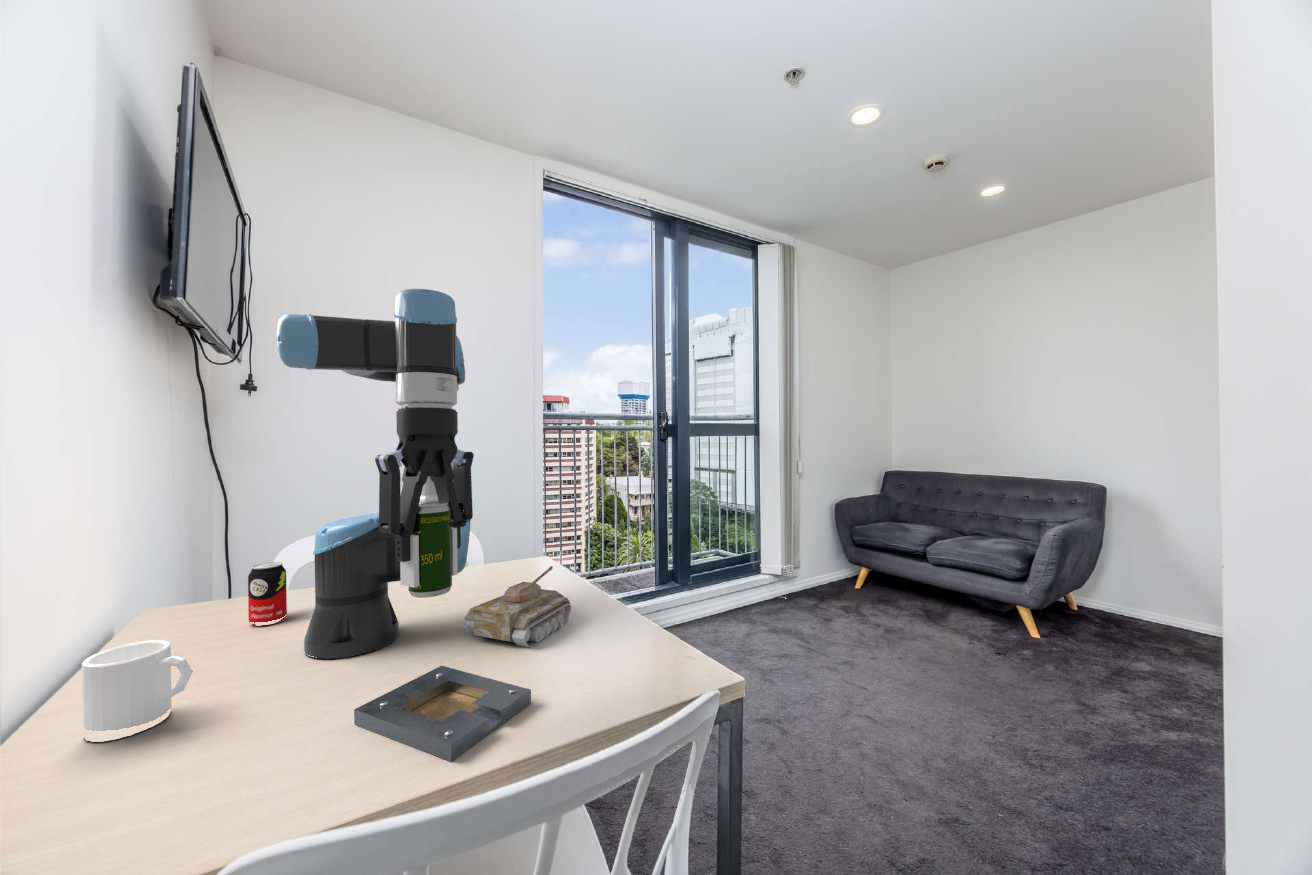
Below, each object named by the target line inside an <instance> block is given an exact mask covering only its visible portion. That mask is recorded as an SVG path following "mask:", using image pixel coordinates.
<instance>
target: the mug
mask: <svg viewBox="0 0 1312 875" xmlns="http://www.w3.org/2000/svg"><path fill="white" fill-rule="evenodd" d="M171 646H172V644H171V643H170V642H169V641H167V640H162V639H158V640H157V639H155V640H154V639H153V640H151V639H150V640H145V641H136V642H132V643H125V644H123V645H119V646H118V645H117V646H115V647H111V648H108V649H105V650H102V651H100V652H97V653H94V654H92V655H90V656H88V657H87V658H86V659H84V660H83V662H82V663H81V689H82V690H81V692H82V694H81V697H82V698H81V699H82V706H81V708H82V729H83V728H85V730H92V731H95V730H96V731H106V730H119V729H123V728H130V727H133V726H139V725H141V724H145V723H148V722H150V721H153V720H155V719H157V718H158V717H161V716H162V715H164V714H165V713H167V711H168V710H169V709H170V708H171V709H172V697H175V696H176V695H178V694H179V693H181V692H183V691H184V690H185V689H186V687H187V684H188V682H189V680H190V678H191V676H192V674H193V673H194V671H193V669H192V668H191V666H190V664H189V662H188V661H187V660H186V658H183V657H180V656H177V655H172V647H171ZM172 666H173V667H176V668H177V670H178V671H179V673H180V674H181V675H180V676H179V679H178V681H177V683H176V685H175V687H174V688H172Z"/></svg>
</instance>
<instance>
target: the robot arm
mask: <svg viewBox="0 0 1312 875" xmlns="http://www.w3.org/2000/svg"><path fill="white" fill-rule="evenodd" d="M394 306H395V308H394V313H393V317H394V320H382V319H381V320H380V319H369V318H368V319H363V318H351V317H350V318H349V317H341V316H328V315H327V316H326V315H314V314H311V313H305V314H298V313H297V314H296V313H295V314H294V313H293V314H292V313H287V314H284V315H282V316H281V318H280V319H279V320H278V323H277V327H276V328H277V329H276V343H277V351H278V354H279V358H280V360H281V362H282V363H283V365H284V366H286V367H288V368H294V369H306V370H308V371H309V370H325V371H326V370H329V371H331V370H333V371H335V370H336V371H342V372H344V373H345V374H348V375H350V376H355V377H360V378H365V379H369V380H374V381H381V382H392V383H393V382H394V383H395V403H396V404H397V405H398V406H400V408H398V410H397V411H396V412H395V413H396V414H395V416H396V418H395V419H396V434H397V436H398V440H399V441H398V443H397V446H396V447H395V448H396V449H395V450H394V451H392V452H389V453H387V454H378V455H376V456H375V458H374V462H375V464H376V467H377V470H378V474H379V478H378V479H379V487H378V488H379V489H378V490H379V491H378V493H379V494H378V513H368V514H362V515H355V516H351V517H347V518H342V519H338V520H335V521H332V522H328V523H325V524H324V525H322V526H321V527H319V528H318V529H317V530H316V533H315V537H314V550H313V555H314V594H315V595H314V598H315V602H314V604H315V606H314V610H313V613H312V616H311V619H310V622H309V624H308V628H307V630H306V634H305V636H304V640H303V651H305V653H306V654H308V655H310V656H314V657H317V658H325V659H324V660H332V658H334V659H335V658H336V659H343V658H349V657H354V656H355V657H356V656H359V655H363V654H366V653H371V652H373V651H375V650H378V649H380V648H383V647H385V646H387V645H388V644H389V645H390V644H391V643H392V642H394V641H395V640H397V638H398V636H399V633H400V632H399V631H400V628H399V619H398V616H397V615H396V612H395V610H394V607H393V605H392V602H391V599H390V597H389V583H393V582H394V583H395V582H400V586H404V587H405V586H406V587H408V588H409V587H417V586H419V536H418V535H412V533H413V529H414V524H415V520H416V515H417V511H418V507H419V502H426V501H448V502H449V504H448V505H449V507H450V509H451V553H452V577H453V576H456V575H459V574H460V573H461V572H462V571H463V570H464V569H465V567H466V566H467V558H468V552H469V544H470V535H471V534H470V532H471V520H472V519H473V515H474V513H473V510H474V509H473V488H472V486H473V485H472V464H473V461H474V456H475V455H474V453H473V452H472V451H464V450H461V449H459V448H458V445H457V443H456V441H455V438H456V436H457V435H458V433H459V428H458V427H459V424H458V415H459V414H458V411H456V409H455V408H453V407H454V406H456V405H457V404H458V391H459V386H460V385H462V384H464V383H465V382H466V381H465V380H466V367H465V359H464V352H463V348H462V347H463V346H462V343H461V341H460V338H459V337H458V335H457V323H458V318H457V312H456V303H455V300H454V298H453V297H452V296H450V295H449V294H447V293H445V292H442V291H439V290H434V289H425V288H407V289H403V290H401V291H399V292H398V293H397V294H396V296H395V305H394ZM402 466H404V469H403V473H402V478H401V469H400V468H401V467H402ZM401 481H402V488H401ZM305 653H304V654H305ZM317 658H316V659H317ZM329 658H330V659H329ZM334 659H333V660H334Z"/></svg>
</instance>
